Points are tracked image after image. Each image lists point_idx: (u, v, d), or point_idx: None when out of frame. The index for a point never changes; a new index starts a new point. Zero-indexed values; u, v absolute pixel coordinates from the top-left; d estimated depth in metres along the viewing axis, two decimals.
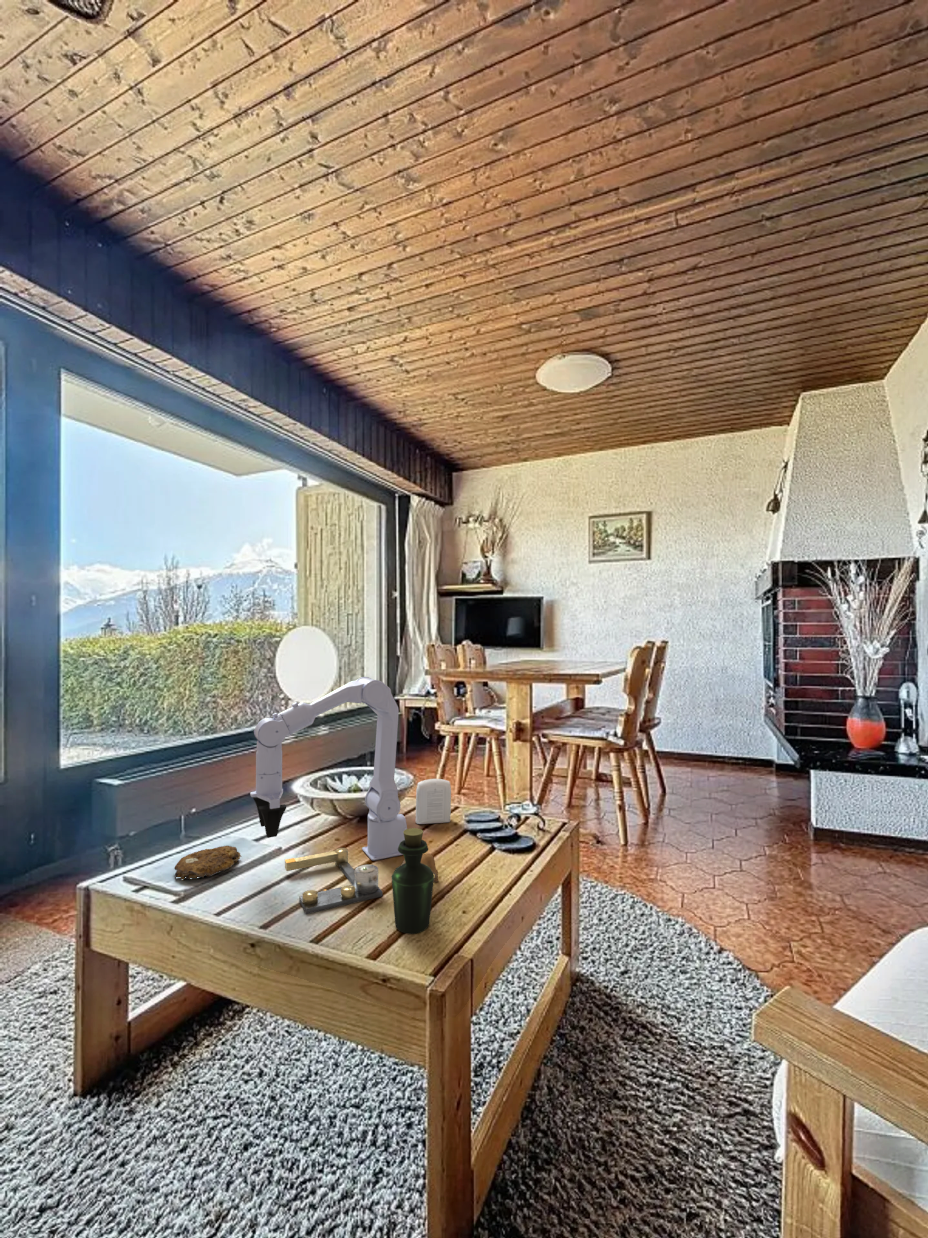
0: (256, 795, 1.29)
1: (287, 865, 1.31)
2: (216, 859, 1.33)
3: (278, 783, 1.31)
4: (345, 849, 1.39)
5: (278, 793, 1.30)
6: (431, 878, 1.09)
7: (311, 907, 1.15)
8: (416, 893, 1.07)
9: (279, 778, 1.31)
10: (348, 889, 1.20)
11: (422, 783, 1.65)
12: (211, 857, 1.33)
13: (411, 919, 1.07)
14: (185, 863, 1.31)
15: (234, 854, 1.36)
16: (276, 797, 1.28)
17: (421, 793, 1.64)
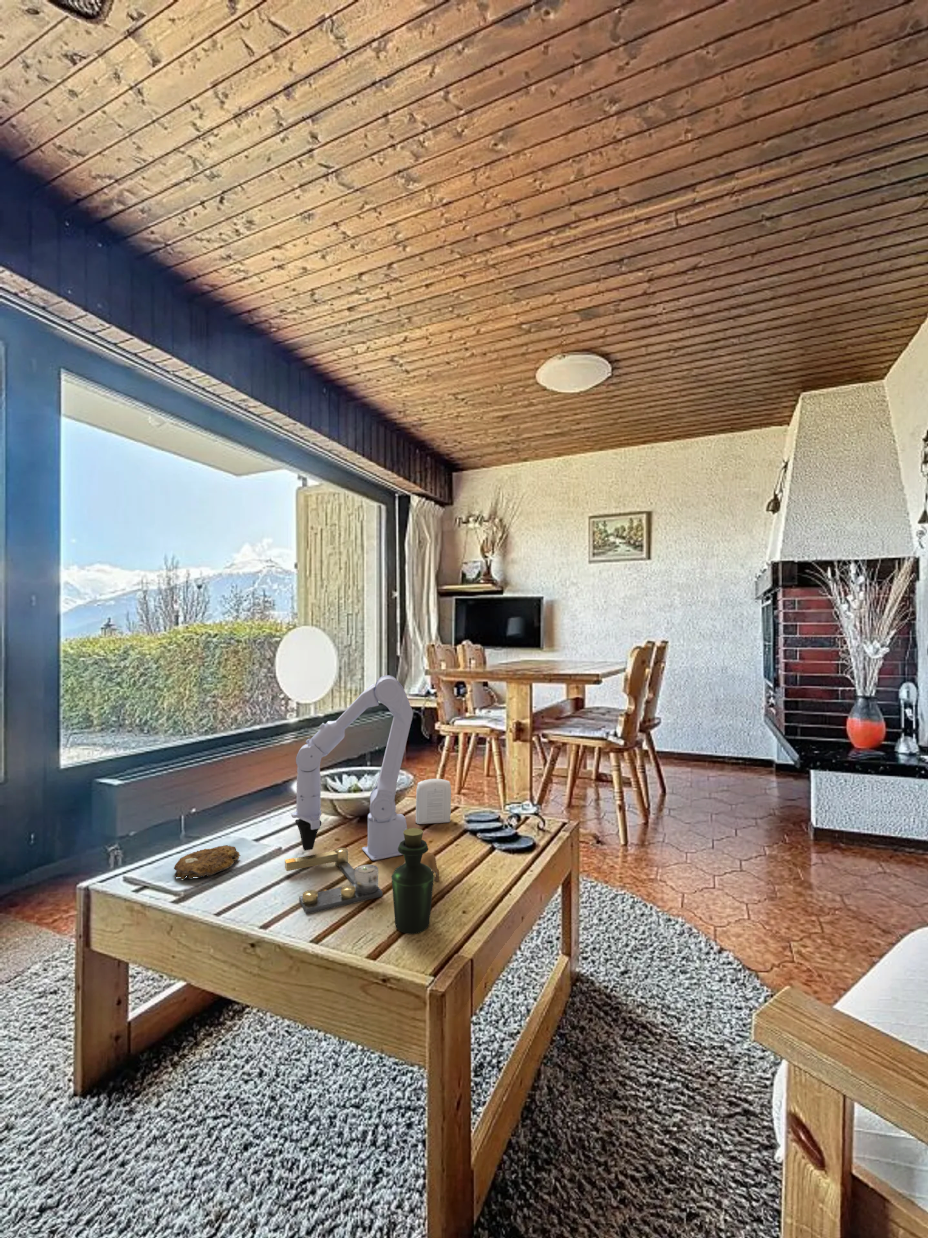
0: (297, 816, 1.40)
1: (287, 865, 1.31)
2: (216, 859, 1.33)
3: (317, 805, 1.41)
4: (345, 849, 1.39)
5: (317, 814, 1.40)
6: (431, 878, 1.09)
7: (311, 907, 1.15)
8: (416, 893, 1.07)
9: (318, 800, 1.41)
10: (348, 889, 1.20)
11: (422, 783, 1.65)
12: (211, 857, 1.34)
13: (411, 919, 1.07)
14: (185, 863, 1.31)
15: (234, 853, 1.37)
16: (316, 818, 1.38)
17: (421, 793, 1.64)
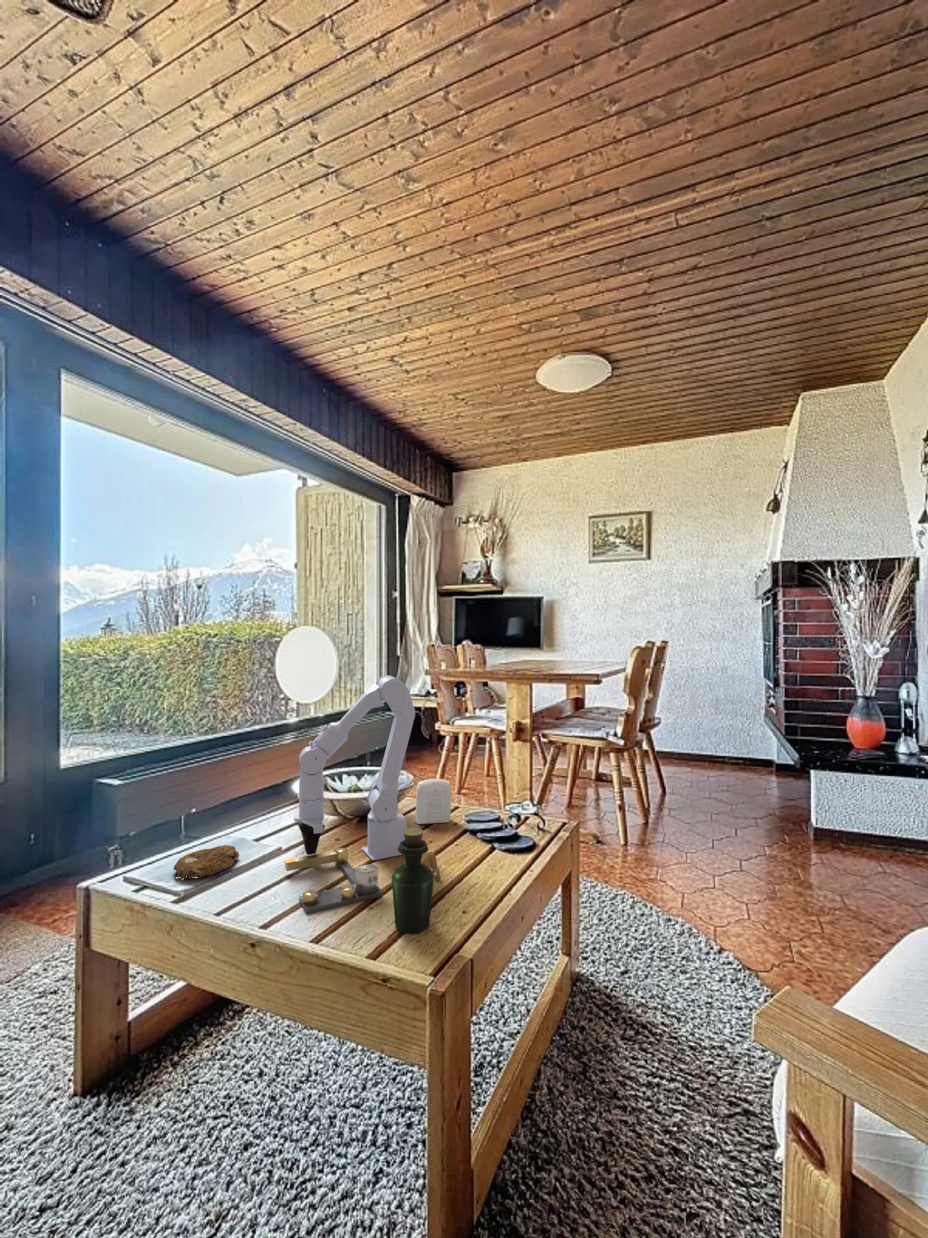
0: (300, 820, 1.37)
1: (287, 865, 1.31)
2: (216, 858, 1.33)
3: (320, 808, 1.38)
4: (345, 849, 1.39)
5: (320, 818, 1.38)
6: (431, 878, 1.09)
7: (311, 907, 1.15)
8: (416, 893, 1.07)
9: (321, 803, 1.39)
10: (348, 889, 1.20)
11: (422, 783, 1.65)
12: (211, 856, 1.34)
13: (411, 919, 1.07)
14: (185, 863, 1.31)
15: (233, 853, 1.37)
16: (319, 822, 1.36)
17: (421, 793, 1.64)
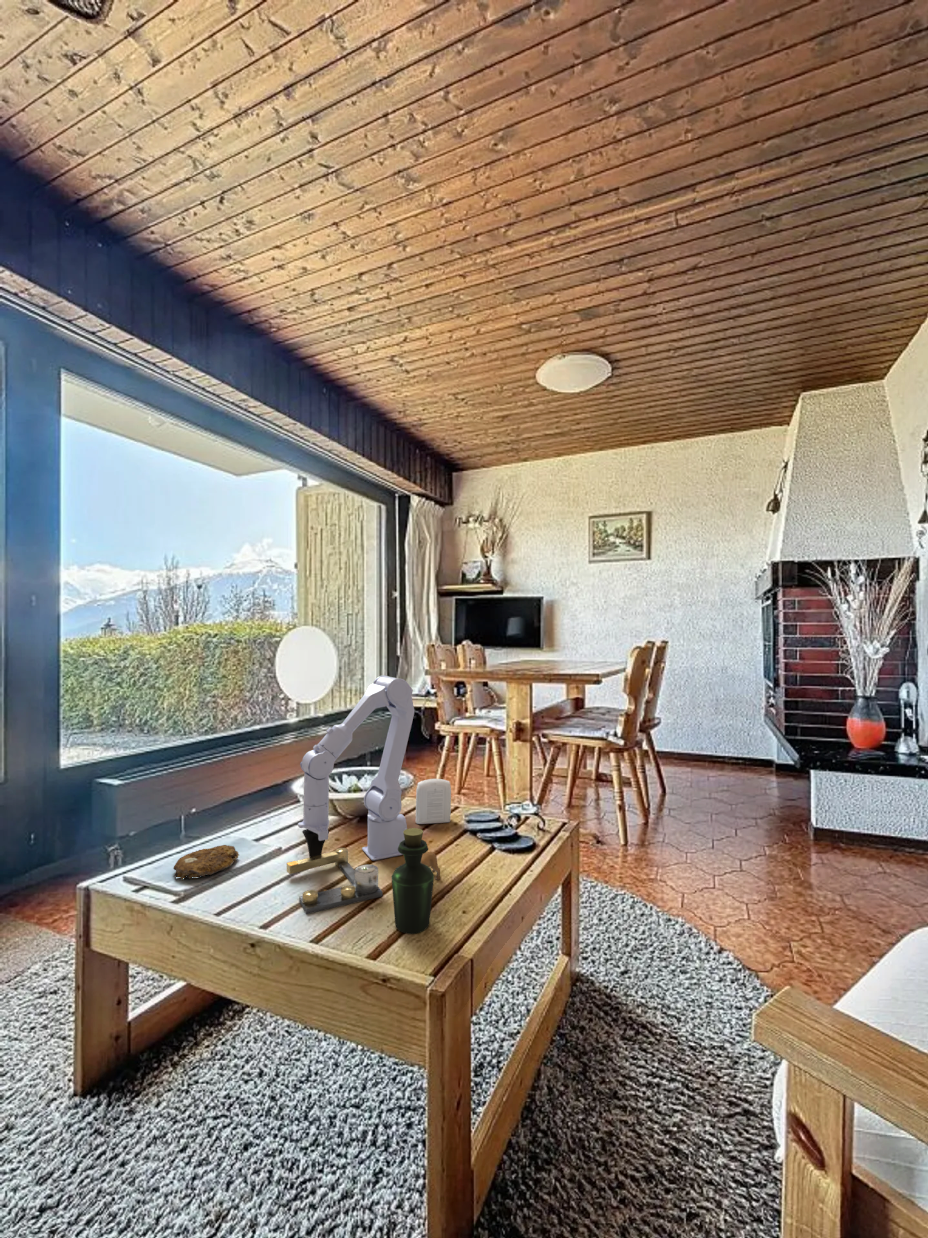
0: (304, 826, 1.33)
1: (290, 868, 1.29)
2: (216, 858, 1.34)
3: (325, 814, 1.34)
4: (345, 849, 1.39)
5: (325, 824, 1.34)
6: (431, 878, 1.09)
7: (311, 907, 1.15)
8: (416, 893, 1.07)
9: (326, 809, 1.34)
10: (348, 889, 1.20)
11: (422, 783, 1.65)
12: (210, 856, 1.34)
13: (411, 919, 1.07)
14: (185, 863, 1.31)
15: (233, 853, 1.37)
16: (324, 829, 1.31)
17: (421, 793, 1.64)
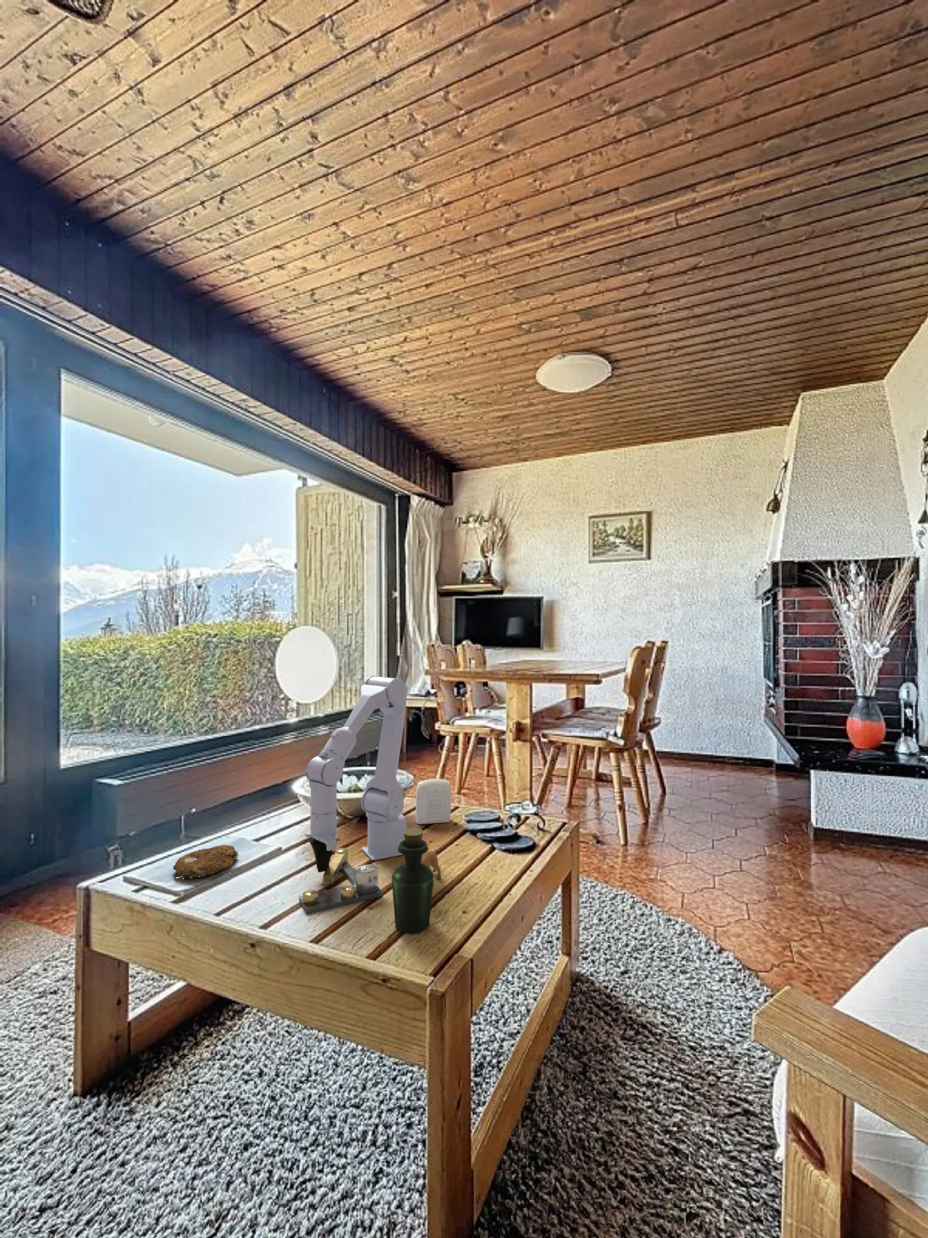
0: (311, 835, 1.27)
1: (332, 877, 1.25)
2: (215, 858, 1.34)
3: (333, 823, 1.29)
4: (341, 848, 1.39)
5: (333, 833, 1.28)
6: (431, 878, 1.09)
7: (311, 907, 1.15)
8: (416, 893, 1.07)
9: (334, 818, 1.29)
10: (348, 889, 1.20)
11: (422, 783, 1.65)
12: (210, 856, 1.34)
13: (411, 919, 1.07)
14: (185, 863, 1.31)
15: (233, 853, 1.37)
16: (332, 838, 1.26)
17: (421, 793, 1.64)
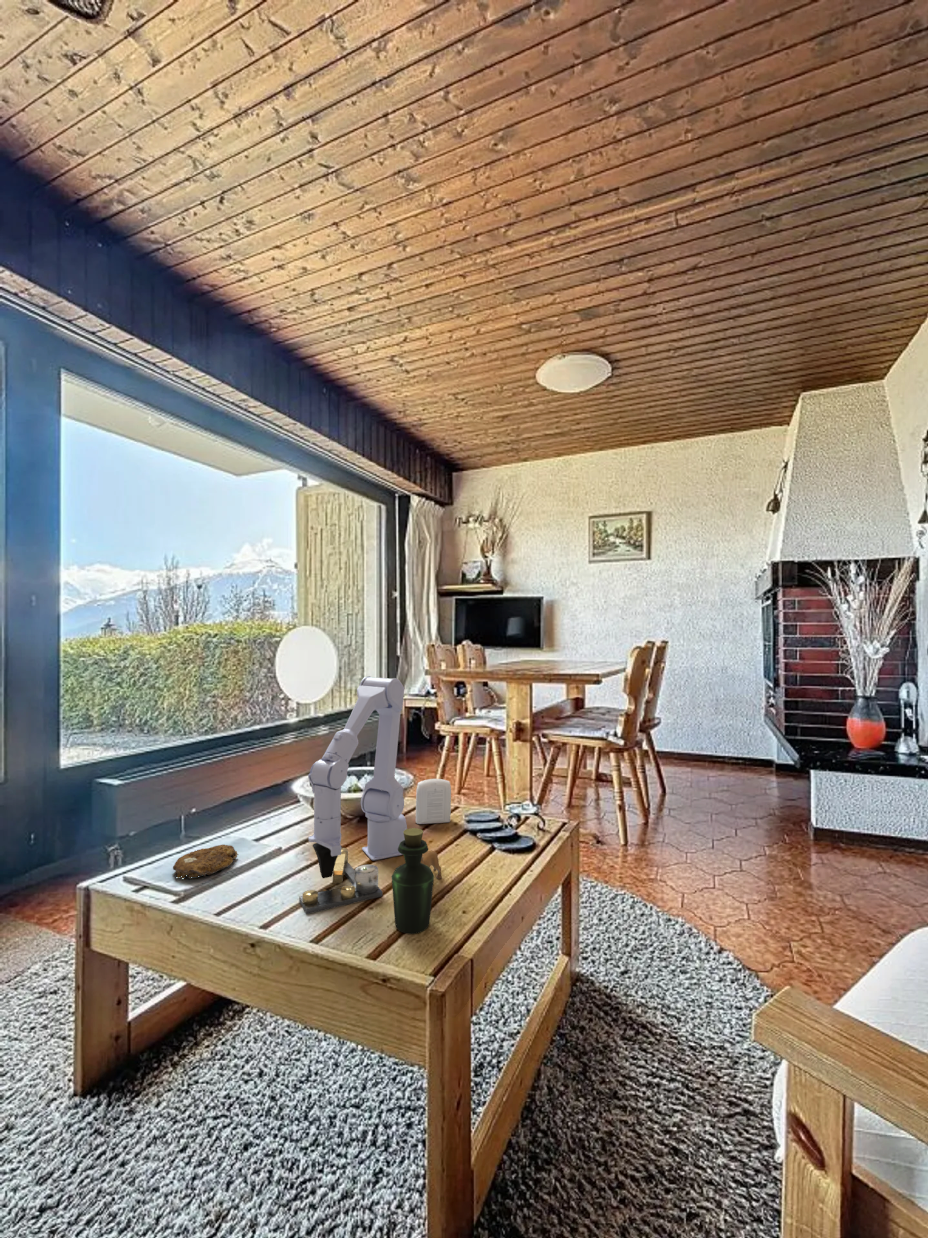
0: (315, 840, 1.25)
1: (341, 877, 1.25)
2: (215, 858, 1.34)
3: (337, 827, 1.26)
4: None
5: (337, 838, 1.26)
6: (431, 878, 1.09)
7: (311, 907, 1.15)
8: (416, 893, 1.07)
9: (338, 822, 1.26)
10: (348, 889, 1.20)
11: (422, 783, 1.65)
12: (210, 856, 1.34)
13: (411, 919, 1.07)
14: (185, 863, 1.31)
15: (232, 852, 1.37)
16: (336, 843, 1.23)
17: (421, 793, 1.64)
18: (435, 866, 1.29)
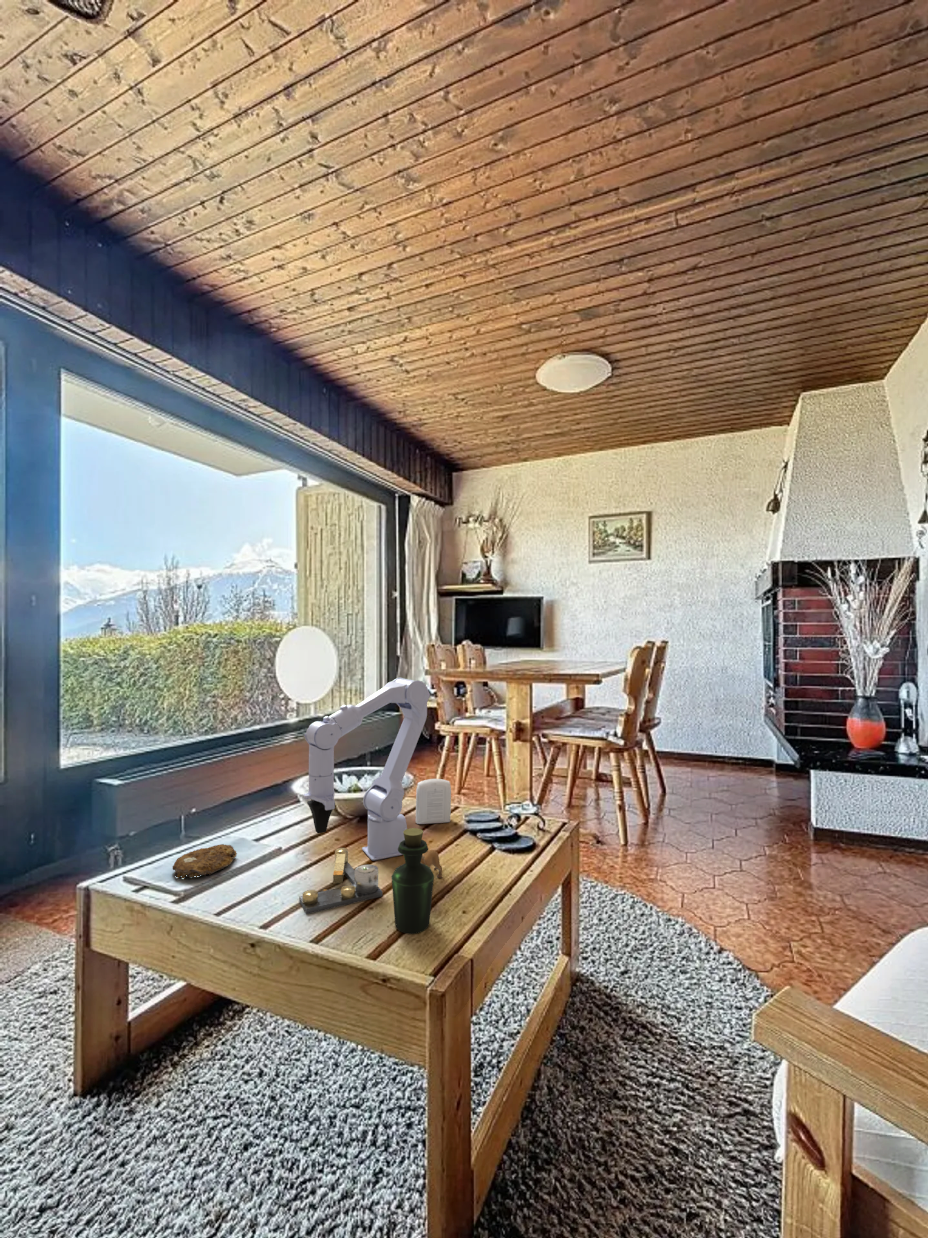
0: (310, 797, 1.32)
1: (342, 877, 1.25)
2: (215, 857, 1.34)
3: (331, 785, 1.34)
4: (340, 848, 1.39)
5: (331, 795, 1.33)
6: (431, 878, 1.09)
7: (311, 907, 1.15)
8: (416, 893, 1.07)
9: (331, 780, 1.34)
10: (348, 889, 1.20)
11: (422, 783, 1.65)
12: (210, 855, 1.34)
13: (411, 919, 1.07)
14: (184, 862, 1.31)
15: (232, 852, 1.38)
16: (330, 799, 1.31)
17: (421, 793, 1.64)
18: (436, 865, 1.29)
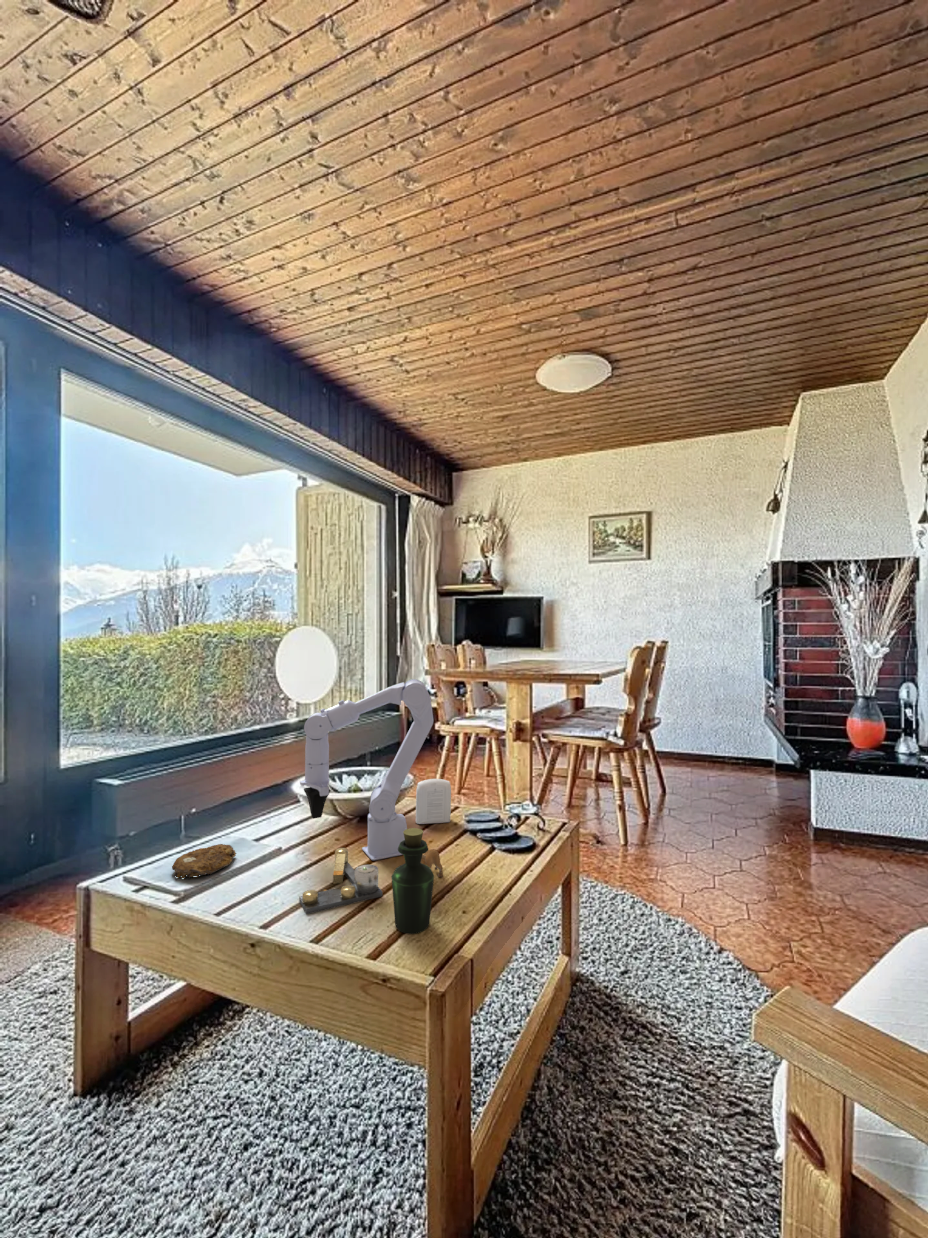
0: (306, 784, 1.40)
1: (342, 877, 1.25)
2: (215, 857, 1.34)
3: (326, 773, 1.42)
4: (340, 848, 1.39)
5: (326, 782, 1.41)
6: (431, 878, 1.09)
7: (311, 907, 1.15)
8: (416, 893, 1.07)
9: (326, 768, 1.42)
10: (348, 889, 1.20)
11: (422, 783, 1.65)
12: (209, 855, 1.34)
13: (411, 919, 1.07)
14: (184, 862, 1.31)
15: (231, 851, 1.38)
16: (325, 785, 1.39)
17: (421, 793, 1.64)
18: (437, 864, 1.30)
